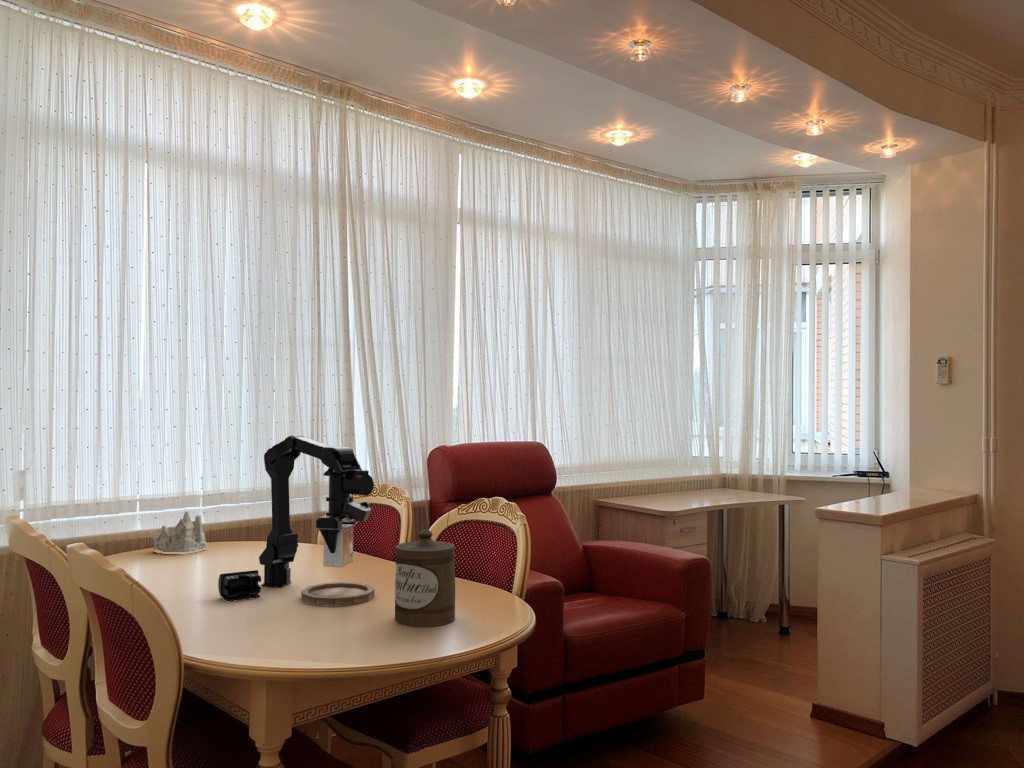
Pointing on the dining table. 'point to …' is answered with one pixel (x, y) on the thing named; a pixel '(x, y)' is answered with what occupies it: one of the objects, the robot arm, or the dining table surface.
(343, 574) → the dining table surface
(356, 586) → the round tray
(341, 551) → the small box
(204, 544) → the miniature castle
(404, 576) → the wooden container
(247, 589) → the end cap
